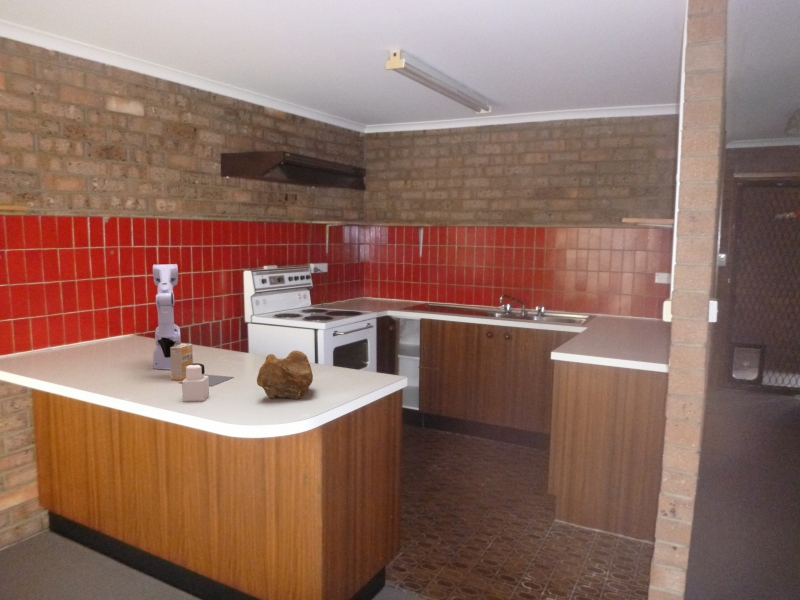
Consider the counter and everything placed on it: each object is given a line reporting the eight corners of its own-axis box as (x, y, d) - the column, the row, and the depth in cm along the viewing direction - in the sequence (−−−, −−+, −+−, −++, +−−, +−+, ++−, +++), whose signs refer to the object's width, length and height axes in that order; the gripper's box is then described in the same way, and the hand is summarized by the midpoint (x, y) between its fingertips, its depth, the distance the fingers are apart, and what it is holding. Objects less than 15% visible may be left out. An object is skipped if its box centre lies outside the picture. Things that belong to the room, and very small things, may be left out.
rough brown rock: (288, 409, 191) (291, 365, 189) (249, 398, 199) (252, 355, 197) (328, 394, 212) (331, 354, 210) (291, 385, 219) (294, 346, 217)
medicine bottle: (188, 395, 204) (187, 362, 203) (209, 395, 205) (208, 361, 203) (182, 401, 197) (181, 366, 196) (204, 401, 198) (203, 366, 196)
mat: (178, 383, 221) (178, 382, 221) (201, 374, 234) (201, 374, 234) (211, 386, 217) (212, 385, 217) (233, 377, 230) (233, 377, 230)
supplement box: (182, 381, 224) (181, 347, 223) (171, 380, 225) (169, 347, 224) (194, 375, 232) (192, 343, 231) (183, 375, 233) (181, 343, 232)
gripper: (185, 323, 227) (186, 357, 228) (166, 320, 236) (167, 353, 238) (168, 325, 221) (170, 360, 223) (149, 322, 231) (151, 355, 232)
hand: (167, 357), depth 230 cm, fingers closed
